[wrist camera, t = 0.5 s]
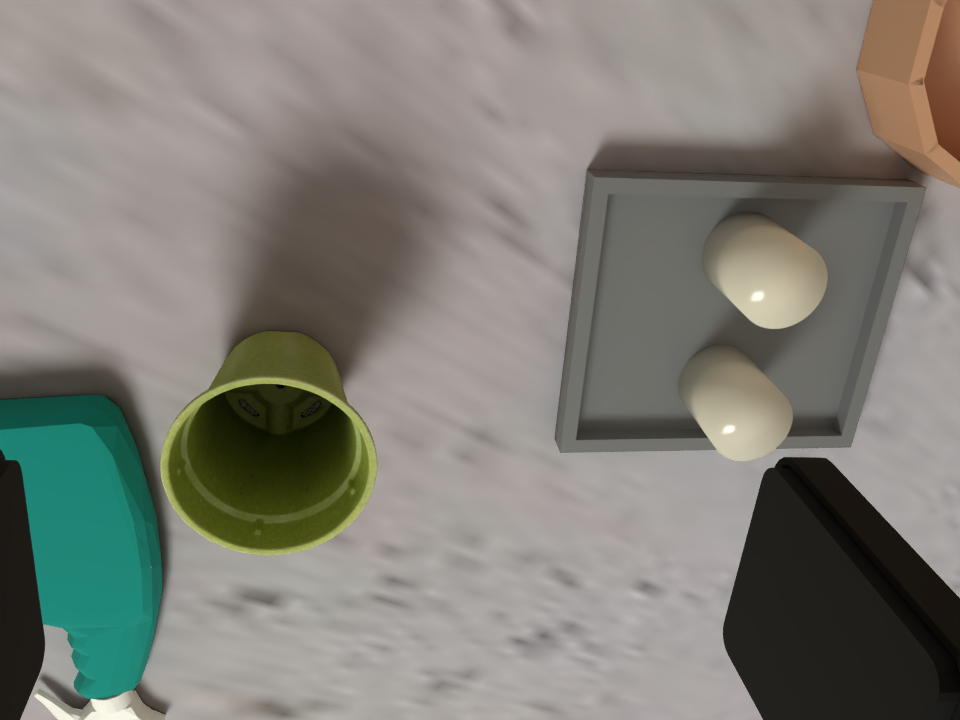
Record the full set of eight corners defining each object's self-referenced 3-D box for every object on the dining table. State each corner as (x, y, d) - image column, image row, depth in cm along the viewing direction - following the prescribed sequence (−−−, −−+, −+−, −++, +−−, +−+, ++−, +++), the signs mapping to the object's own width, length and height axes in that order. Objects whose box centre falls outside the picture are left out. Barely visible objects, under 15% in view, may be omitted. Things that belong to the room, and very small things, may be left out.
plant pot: (407, 380, 48) (420, 468, 40) (284, 485, 50) (274, 589, 42) (279, 262, 44) (266, 335, 36) (151, 381, 46) (112, 474, 38)
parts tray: (586, 169, 44) (594, 177, 43) (909, 179, 47) (926, 187, 45) (554, 438, 51) (560, 452, 50) (838, 434, 54) (850, 447, 52)
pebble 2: (684, 344, 49) (719, 387, 44) (760, 344, 49) (801, 386, 45) (672, 414, 51) (704, 461, 46) (744, 413, 51) (782, 460, 47)
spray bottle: (135, 384, 46) (204, 715, 58) (-88, 400, 45) (28, 735, 56) (123, 413, 44) (198, 753, 55) (-114, 430, 42) (13, 775, 54)
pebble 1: (709, 210, 45) (749, 242, 41) (789, 212, 46) (837, 243, 42) (694, 290, 47) (731, 328, 43) (772, 291, 48) (815, 329, 44)
